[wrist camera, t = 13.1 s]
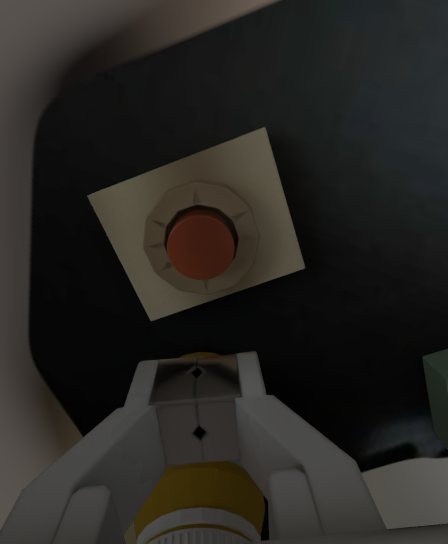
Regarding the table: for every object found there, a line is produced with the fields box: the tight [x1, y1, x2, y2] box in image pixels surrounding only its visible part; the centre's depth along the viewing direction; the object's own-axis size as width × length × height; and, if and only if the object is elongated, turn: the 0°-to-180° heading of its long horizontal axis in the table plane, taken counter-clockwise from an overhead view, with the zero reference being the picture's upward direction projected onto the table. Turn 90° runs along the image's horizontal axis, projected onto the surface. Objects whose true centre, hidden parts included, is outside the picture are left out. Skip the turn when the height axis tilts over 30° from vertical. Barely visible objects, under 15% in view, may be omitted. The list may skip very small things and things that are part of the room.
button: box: [167, 209, 235, 280], centre depth 18 cm, size 4×4×2 cm
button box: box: [88, 127, 305, 321], centre depth 20 cm, size 11×9×4 cm
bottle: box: [134, 352, 265, 544], centre depth 20 cm, size 7×7×15 cm
